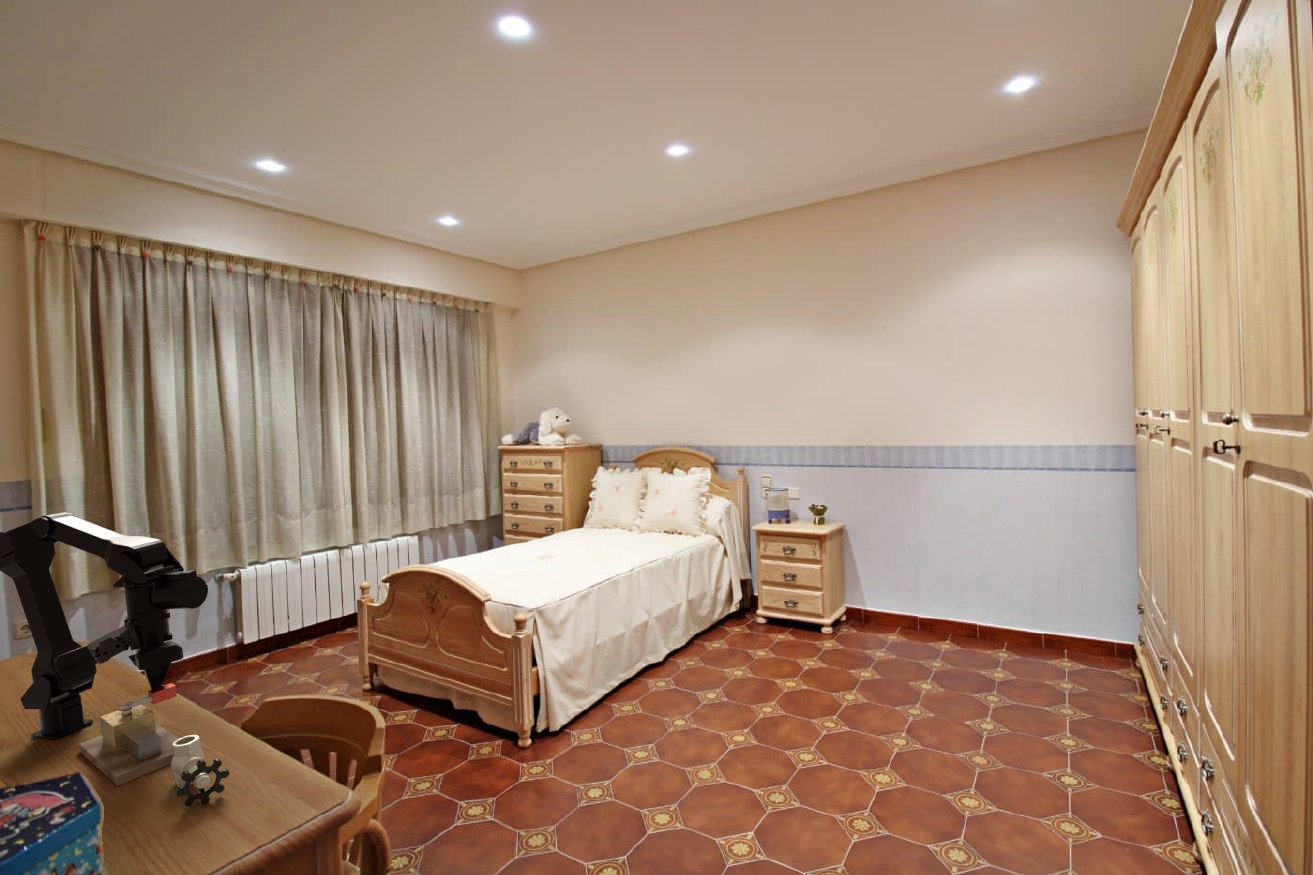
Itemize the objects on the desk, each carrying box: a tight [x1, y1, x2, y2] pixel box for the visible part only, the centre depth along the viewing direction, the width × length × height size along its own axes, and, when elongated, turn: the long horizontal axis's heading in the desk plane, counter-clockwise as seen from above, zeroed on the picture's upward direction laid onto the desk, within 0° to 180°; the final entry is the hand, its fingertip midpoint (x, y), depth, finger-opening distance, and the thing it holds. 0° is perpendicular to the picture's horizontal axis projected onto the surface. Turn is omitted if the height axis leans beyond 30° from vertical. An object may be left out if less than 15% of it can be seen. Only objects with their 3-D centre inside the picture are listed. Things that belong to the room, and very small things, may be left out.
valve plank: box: [78, 722, 180, 787], centre depth 109 cm, size 20×10×2 cm, turn 56°
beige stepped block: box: [99, 704, 162, 761], centre depth 109 cm, size 16×6×6 cm, turn 56°
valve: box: [170, 734, 230, 807], centre depth 97 cm, size 7×7×12 cm
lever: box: [118, 682, 178, 711], centre depth 112 cm, size 8×2×2 cm, turn 146°
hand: (156, 691), depth 116 cm, fingers closed
